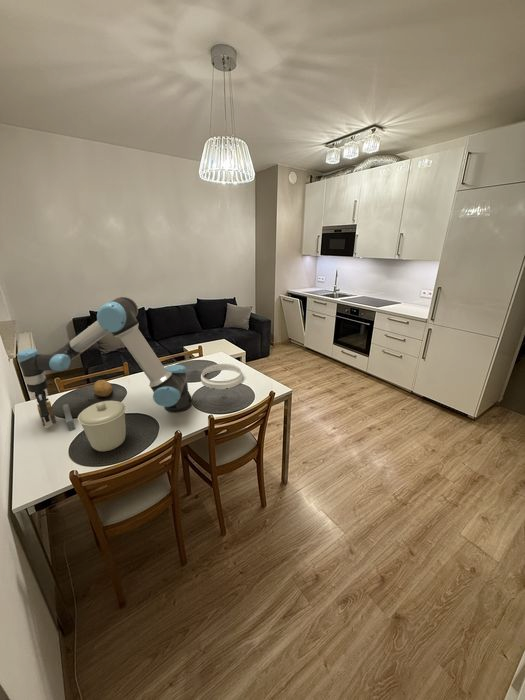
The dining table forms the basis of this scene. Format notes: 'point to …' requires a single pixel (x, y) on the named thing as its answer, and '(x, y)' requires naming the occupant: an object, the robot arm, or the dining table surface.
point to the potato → (102, 388)
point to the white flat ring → (221, 384)
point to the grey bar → (68, 417)
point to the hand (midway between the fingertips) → (48, 419)
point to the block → (48, 411)
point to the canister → (104, 424)
